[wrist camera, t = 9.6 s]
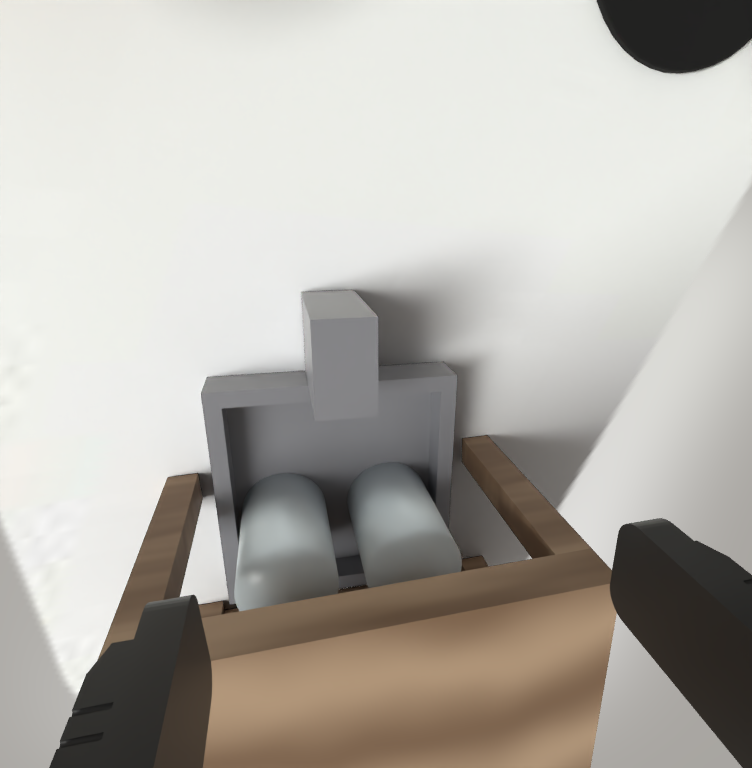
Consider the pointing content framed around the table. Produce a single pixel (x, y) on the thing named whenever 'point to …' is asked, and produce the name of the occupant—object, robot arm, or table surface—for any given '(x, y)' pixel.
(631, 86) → the table surface
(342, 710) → the small wooden table
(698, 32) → the wine glass
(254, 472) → the tray
